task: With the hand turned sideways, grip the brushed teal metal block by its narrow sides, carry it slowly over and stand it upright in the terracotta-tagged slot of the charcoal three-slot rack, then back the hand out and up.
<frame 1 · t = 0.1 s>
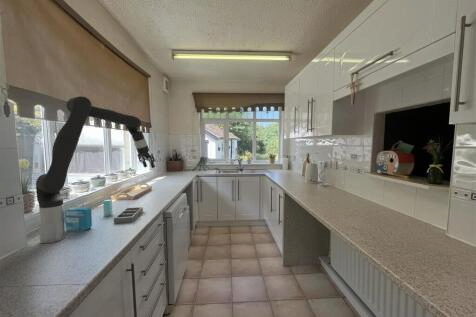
hand: (149, 167, 158), 31 cm above the worktop, tool tilted 20°, fingers open, 8 cm apart
brushed teal metal block: (108, 215, 151), on the worktop
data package: (79, 229, 125), on the worktop
slot rack: (129, 217, 146), on the worktop
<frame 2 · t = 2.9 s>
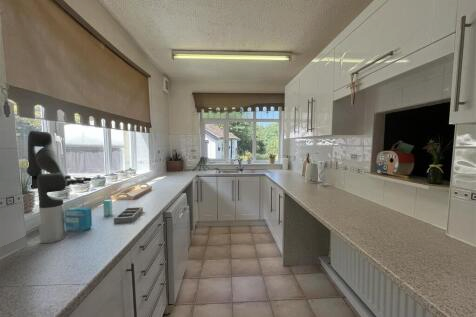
hand: (87, 180, 148), 24 cm above the worktop, tool horizontal, fingers open, 8 cm apart
nothing on the worktop moved.
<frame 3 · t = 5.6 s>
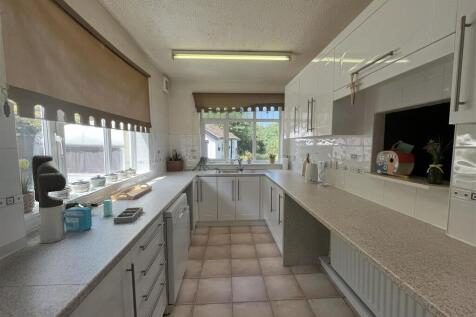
hand: (94, 206, 149), 6 cm above the worktop, tool horizontal, fingers open, 8 cm apart
nothing on the worktop moved.
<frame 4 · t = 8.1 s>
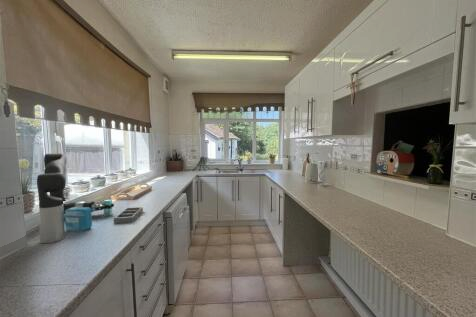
hand: (112, 206, 151), 6 cm above the worktop, tool horizontal, fingers closed on brushed teal metal block, 3 cm apart
brushed teal metal block: (108, 214, 151), on the worktop, touching gripper
everything else where it was.
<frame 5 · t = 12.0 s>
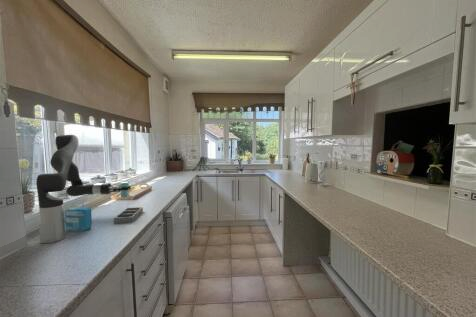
hand: (129, 188, 152), 18 cm above the worktop, tool horizontal, fingers closed on brushed teal metal block, 3 cm apart
brushed teal metal block: (125, 196, 152), point 12 cm above the worktop, touching gripper
everything else where it was.
when the fingers open (8 cm above the worktop, at t = 16.2 s): brushed teal metal block drops 1 cm, resting on slot rack.
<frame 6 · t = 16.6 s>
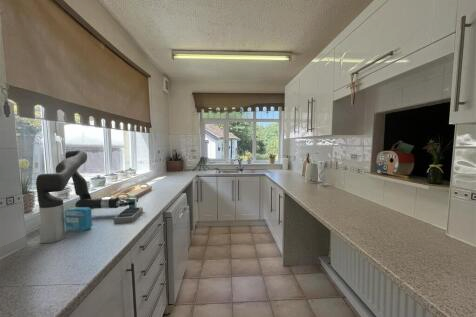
hand: (136, 201, 153), 8 cm above the worktop, tool horizontal, fingers open, 7 cm apart
brushed teal metal block: (133, 212, 153), point 1 cm above the worktop, touching slot rack
everything else where it was.
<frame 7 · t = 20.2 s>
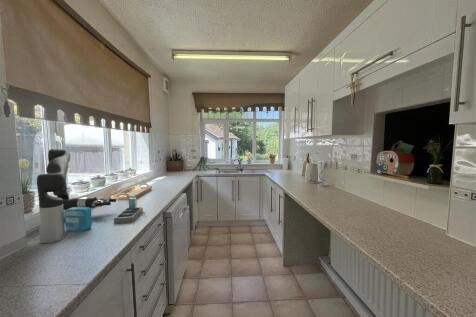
hand: (113, 201, 150), 9 cm above the worktop, tool horizontal, fingers open, 8 cm apart
nothing on the worktop moved.
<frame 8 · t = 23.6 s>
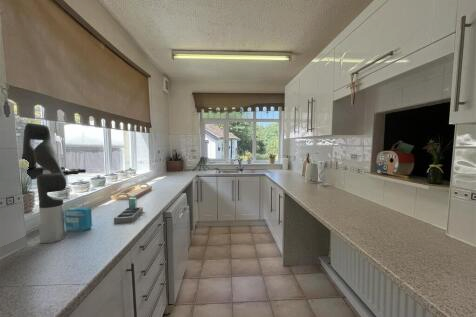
hand: (81, 171, 145), 30 cm above the worktop, tool horizontal, fingers open, 8 cm apart
nothing on the worktop moved.
at the end: brushed teal metal block 0.1 cm from the target spot on the slot rack, point 0.9 cm above the slot rack's base; brushed teal metal block tilted 0°; the gripper is holding nothing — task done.
